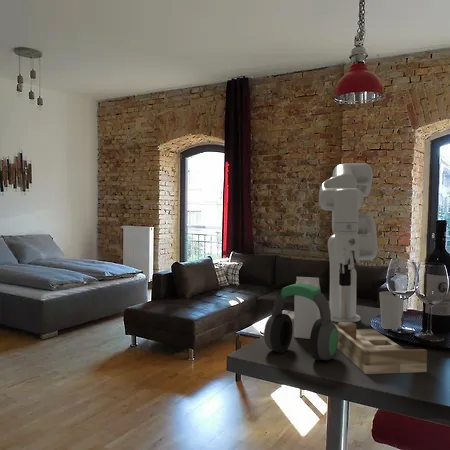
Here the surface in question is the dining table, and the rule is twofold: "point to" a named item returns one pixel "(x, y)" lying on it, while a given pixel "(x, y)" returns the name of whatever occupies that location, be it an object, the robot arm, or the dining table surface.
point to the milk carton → (305, 310)
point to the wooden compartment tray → (380, 353)
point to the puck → (348, 328)
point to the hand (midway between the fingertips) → (344, 285)
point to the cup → (390, 310)
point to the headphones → (282, 326)
